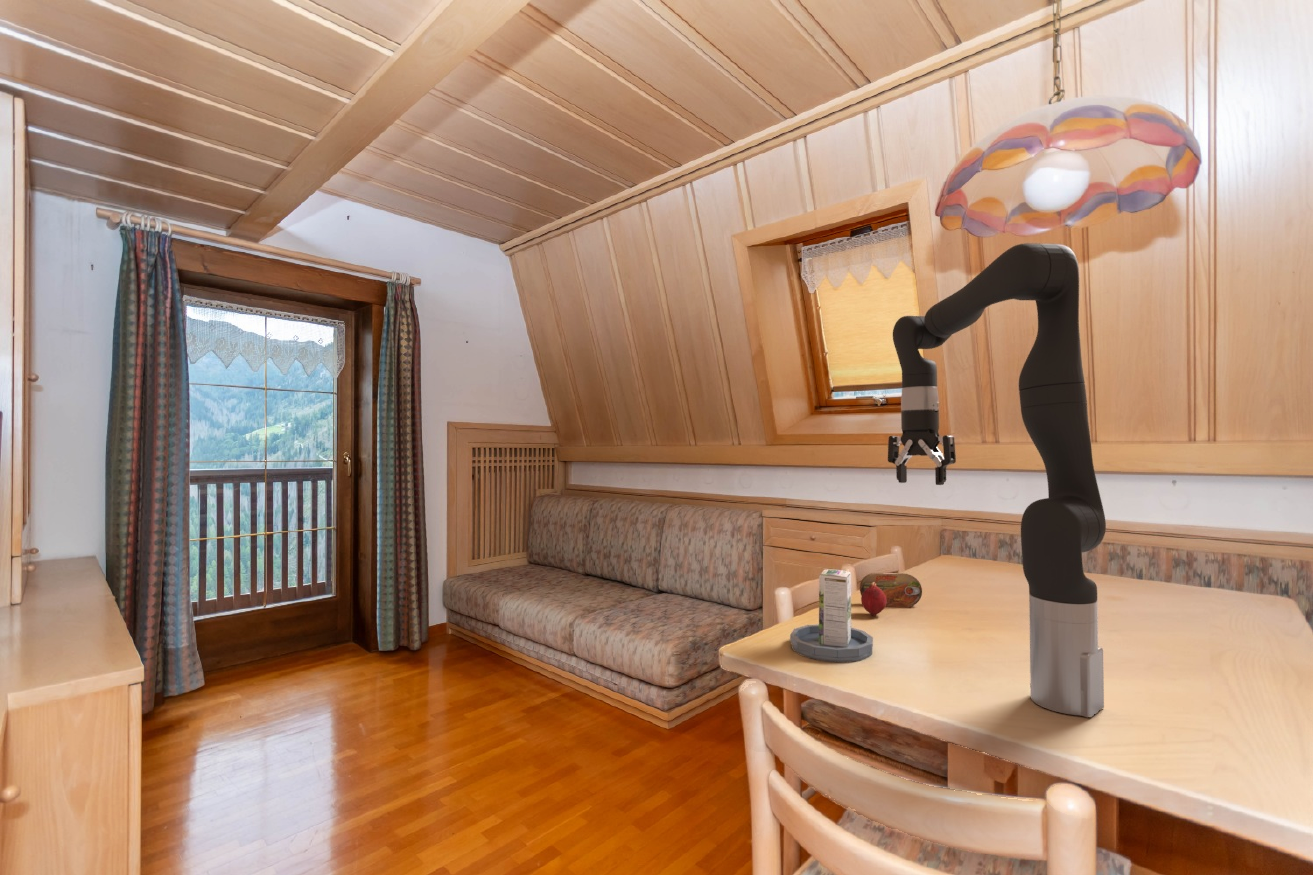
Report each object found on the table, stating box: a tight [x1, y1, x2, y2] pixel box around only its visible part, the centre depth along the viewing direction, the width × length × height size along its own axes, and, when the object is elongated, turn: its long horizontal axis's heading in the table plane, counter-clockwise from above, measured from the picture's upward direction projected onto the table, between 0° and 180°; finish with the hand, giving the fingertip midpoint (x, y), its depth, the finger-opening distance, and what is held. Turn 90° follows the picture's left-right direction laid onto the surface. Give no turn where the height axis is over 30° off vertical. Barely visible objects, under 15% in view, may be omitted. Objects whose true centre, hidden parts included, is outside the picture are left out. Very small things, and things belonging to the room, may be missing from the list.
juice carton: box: [818, 568, 852, 647], centre depth 128 cm, size 6×6×14 cm
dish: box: [789, 623, 874, 663], centre depth 128 cm, size 16×16×2 cm
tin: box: [859, 572, 923, 608], centre depth 159 cm, size 15×3×8 cm, turn 81°
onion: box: [860, 582, 887, 617], centre depth 150 cm, size 6×6×8 cm
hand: (920, 483), depth 134 cm, fingers open, 8 cm apart
